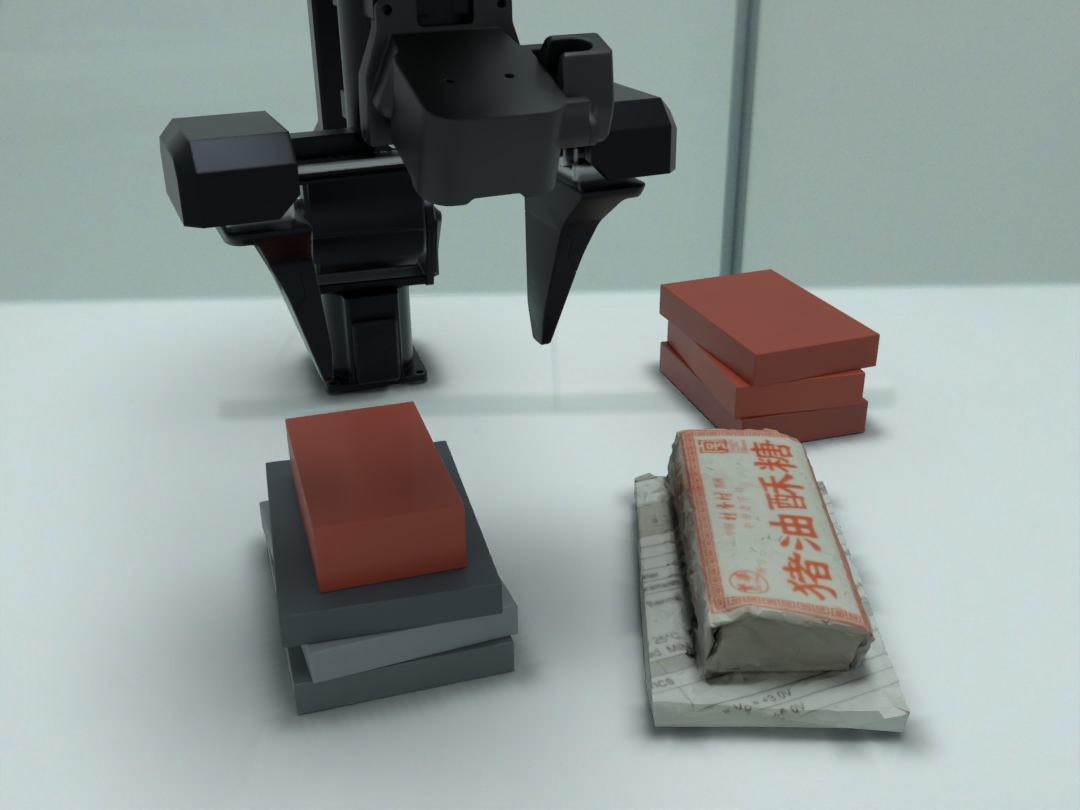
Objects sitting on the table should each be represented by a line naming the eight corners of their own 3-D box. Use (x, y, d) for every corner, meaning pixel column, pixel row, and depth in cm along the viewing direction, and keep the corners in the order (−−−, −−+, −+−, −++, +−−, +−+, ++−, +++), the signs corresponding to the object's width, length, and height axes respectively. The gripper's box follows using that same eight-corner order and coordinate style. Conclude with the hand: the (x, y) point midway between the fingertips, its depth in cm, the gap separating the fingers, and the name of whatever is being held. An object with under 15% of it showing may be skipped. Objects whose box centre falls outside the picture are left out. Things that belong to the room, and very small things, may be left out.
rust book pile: (651, 368, 76) (654, 282, 73) (772, 351, 78) (779, 267, 75) (736, 455, 65) (743, 357, 62) (873, 432, 67) (886, 337, 65)
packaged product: (634, 416, 59) (831, 418, 58) (631, 498, 61) (821, 500, 60) (653, 633, 42) (926, 638, 42) (648, 735, 45) (908, 740, 44)
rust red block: (291, 475, 54) (284, 418, 53) (417, 456, 56) (413, 400, 54) (319, 594, 46) (312, 529, 44) (467, 567, 47) (464, 504, 46)
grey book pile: (261, 543, 57) (251, 464, 55) (449, 512, 60) (445, 435, 58) (291, 719, 46) (280, 626, 44) (523, 671, 48) (521, 582, 46)
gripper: (166, -26, 30) (239, 492, 37) (768, -52, 37) (740, 393, 43) (128, -47, 40) (192, 370, 46) (614, -65, 46) (610, 303, 53)
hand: (437, 359), depth 47 cm, fingers open, 9 cm apart
